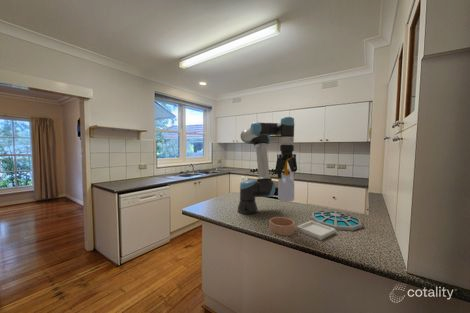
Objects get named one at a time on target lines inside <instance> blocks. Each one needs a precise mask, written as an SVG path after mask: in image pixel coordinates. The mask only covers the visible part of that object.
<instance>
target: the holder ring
mask: <svg viewBox="0 0 470 313" xmlns="http://www.w3.org/2000/svg"><path fill="white" fill-rule="evenodd" d="M268 221H269V222H268V223H269V224H268V225H269V226H268V229H269V230H270V232H271V233H273V234H275V235H281V236H290V235H292V234H295V231H296V229H295V228H296V226H295V224H296V222H295V221H294V220H293V219H291V218H290V217H289V218H288V217H285V216H274V217H271V218H270V219H269V220H268Z"/></svg>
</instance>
